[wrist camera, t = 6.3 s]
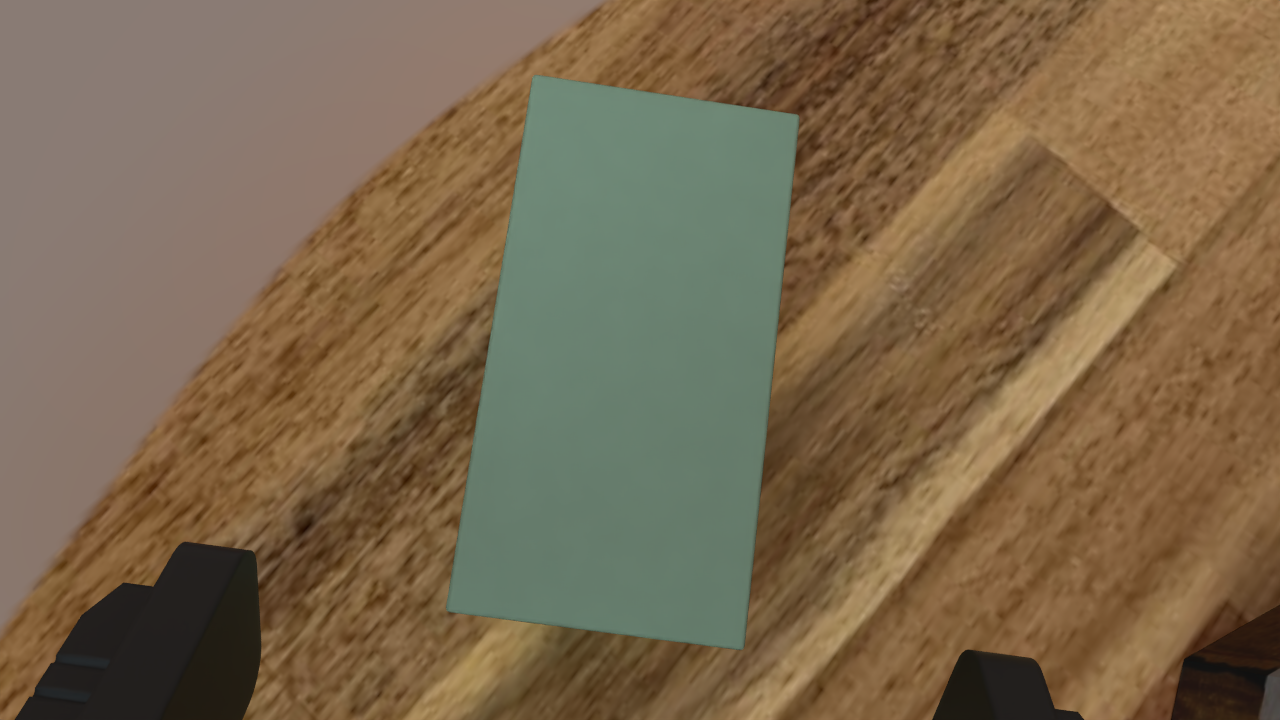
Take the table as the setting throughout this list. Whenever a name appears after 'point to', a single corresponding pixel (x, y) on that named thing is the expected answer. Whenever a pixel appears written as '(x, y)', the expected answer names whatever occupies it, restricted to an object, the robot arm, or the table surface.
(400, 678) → the table surface
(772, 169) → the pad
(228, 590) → the robot arm
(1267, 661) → the mug
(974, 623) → the table surface
